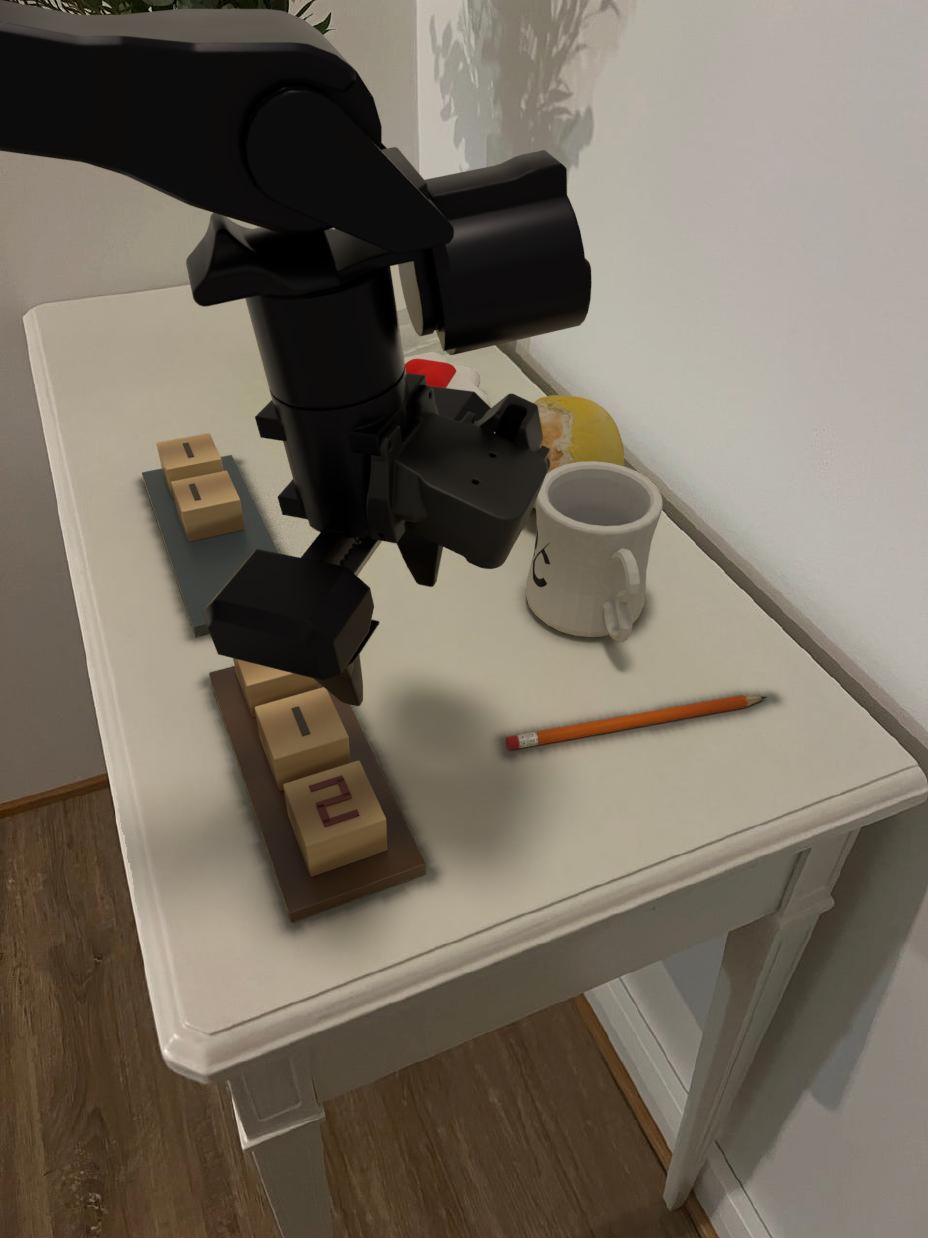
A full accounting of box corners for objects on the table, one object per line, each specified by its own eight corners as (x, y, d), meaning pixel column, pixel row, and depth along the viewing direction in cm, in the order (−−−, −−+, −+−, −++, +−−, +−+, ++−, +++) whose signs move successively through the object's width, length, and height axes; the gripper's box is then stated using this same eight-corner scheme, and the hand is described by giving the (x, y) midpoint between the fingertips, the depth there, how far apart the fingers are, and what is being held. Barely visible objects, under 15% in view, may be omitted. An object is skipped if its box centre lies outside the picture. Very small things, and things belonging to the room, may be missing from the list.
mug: (510, 574, 75) (518, 466, 68) (617, 559, 76) (635, 453, 70) (560, 682, 66) (575, 571, 59) (679, 662, 67) (707, 552, 61)
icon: (511, 378, 90) (418, 400, 86) (509, 418, 93) (418, 441, 89) (452, 329, 98) (365, 347, 94) (452, 367, 101) (366, 386, 97)
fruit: (554, 462, 87) (564, 362, 81) (641, 515, 81) (660, 412, 74) (471, 500, 82) (475, 397, 75) (557, 560, 76) (569, 454, 69)
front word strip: (426, 874, 54) (426, 832, 51) (291, 923, 51) (283, 881, 48) (321, 652, 67) (317, 609, 65) (210, 682, 65) (201, 639, 62)
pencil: (505, 743, 62) (505, 734, 61) (763, 697, 65) (766, 687, 65) (508, 753, 61) (509, 743, 60) (769, 705, 65) (772, 696, 64)
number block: (388, 850, 54) (386, 818, 52) (310, 878, 52) (305, 845, 50) (361, 791, 57) (359, 758, 55) (287, 815, 55) (282, 782, 53)
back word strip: (302, 609, 71) (297, 567, 68) (195, 637, 68) (186, 594, 65) (233, 463, 86) (226, 424, 83) (143, 481, 83) (134, 441, 80)
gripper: (422, 545, 30) (466, 822, 41) (589, 291, 42) (589, 557, 53) (142, 492, 34) (250, 759, 45) (370, 273, 46) (411, 524, 57)
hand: (391, 639), depth 50 cm, fingers open, 9 cm apart
